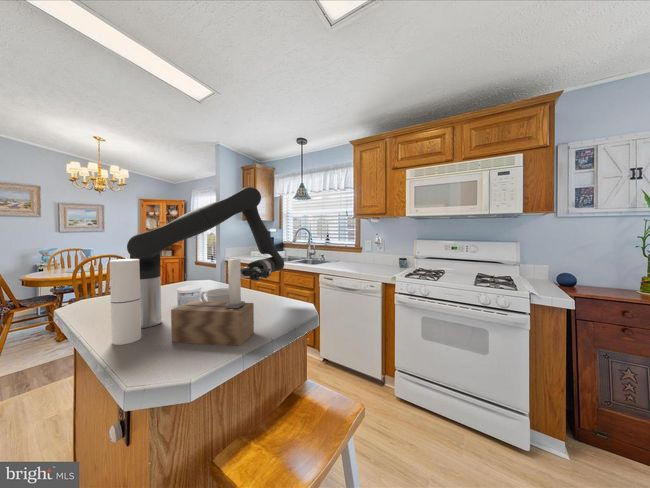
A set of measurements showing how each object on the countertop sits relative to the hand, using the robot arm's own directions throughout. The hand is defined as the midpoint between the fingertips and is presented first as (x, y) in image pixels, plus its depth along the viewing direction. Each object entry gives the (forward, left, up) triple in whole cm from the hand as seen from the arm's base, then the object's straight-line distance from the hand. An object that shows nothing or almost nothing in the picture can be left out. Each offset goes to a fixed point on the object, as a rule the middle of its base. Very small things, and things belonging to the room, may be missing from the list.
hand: (241, 276), depth 83 cm
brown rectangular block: (-7, -5, -19) cm, 21 cm away
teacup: (-17, +15, -19) cm, 30 cm away
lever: (0, -4, -9) cm, 10 cm away
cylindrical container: (-33, -10, -19) cm, 39 cm away
